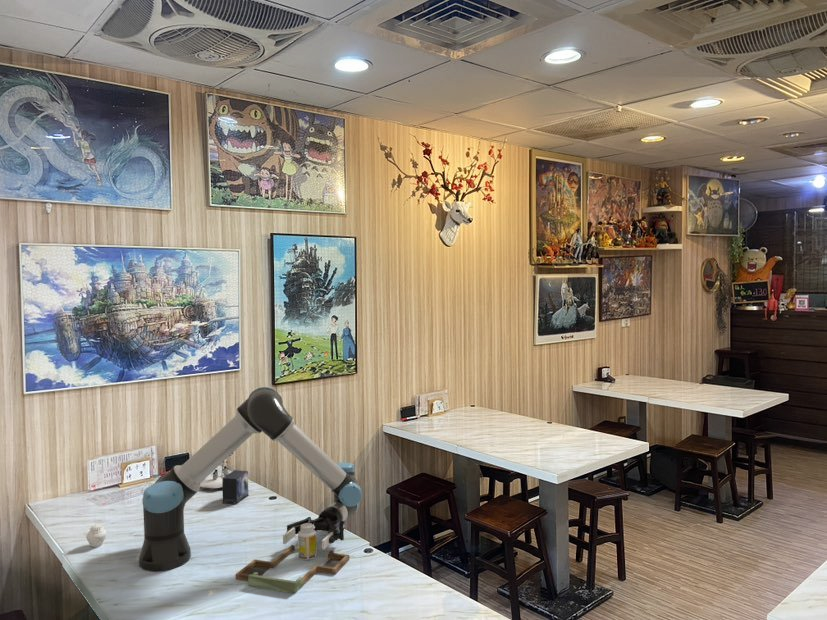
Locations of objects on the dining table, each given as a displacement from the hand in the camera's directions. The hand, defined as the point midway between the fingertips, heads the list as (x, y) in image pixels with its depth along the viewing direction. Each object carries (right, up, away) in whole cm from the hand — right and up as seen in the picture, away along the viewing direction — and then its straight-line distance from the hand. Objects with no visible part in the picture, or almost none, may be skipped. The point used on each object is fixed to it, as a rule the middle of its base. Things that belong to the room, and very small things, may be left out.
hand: (303, 542), depth 190 cm
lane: (-2, -6, -5) cm, 8 cm away
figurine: (-49, -4, +76) cm, 90 cm away
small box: (-37, -4, +56) cm, 67 cm away
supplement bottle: (+1, -6, +3) cm, 7 cm away
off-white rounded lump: (-72, -7, +14) cm, 73 cm away
